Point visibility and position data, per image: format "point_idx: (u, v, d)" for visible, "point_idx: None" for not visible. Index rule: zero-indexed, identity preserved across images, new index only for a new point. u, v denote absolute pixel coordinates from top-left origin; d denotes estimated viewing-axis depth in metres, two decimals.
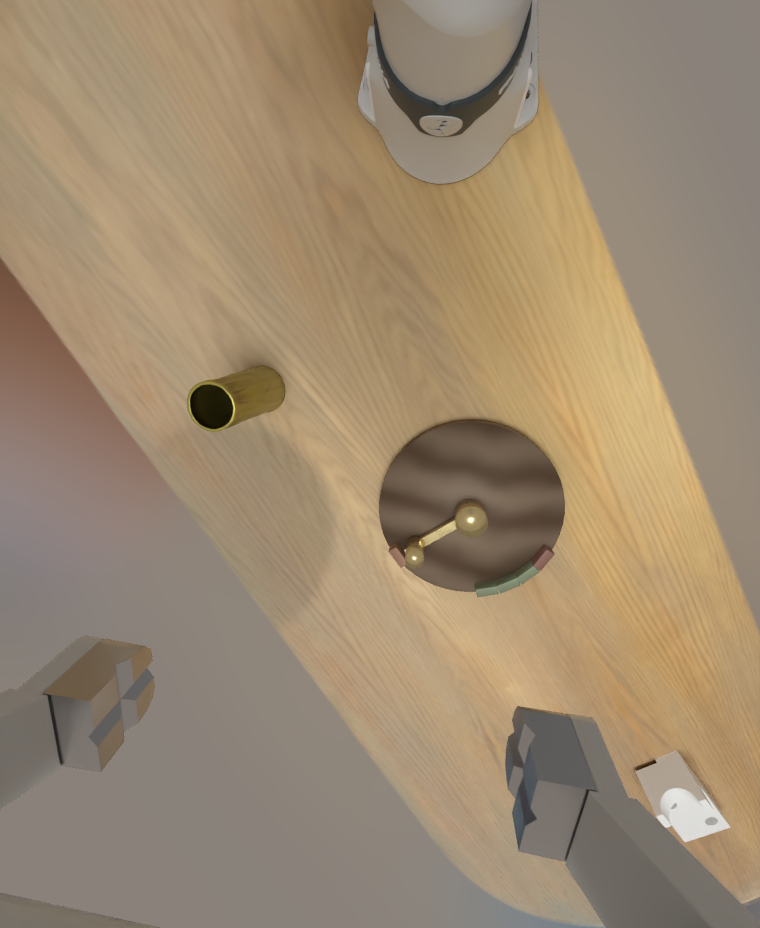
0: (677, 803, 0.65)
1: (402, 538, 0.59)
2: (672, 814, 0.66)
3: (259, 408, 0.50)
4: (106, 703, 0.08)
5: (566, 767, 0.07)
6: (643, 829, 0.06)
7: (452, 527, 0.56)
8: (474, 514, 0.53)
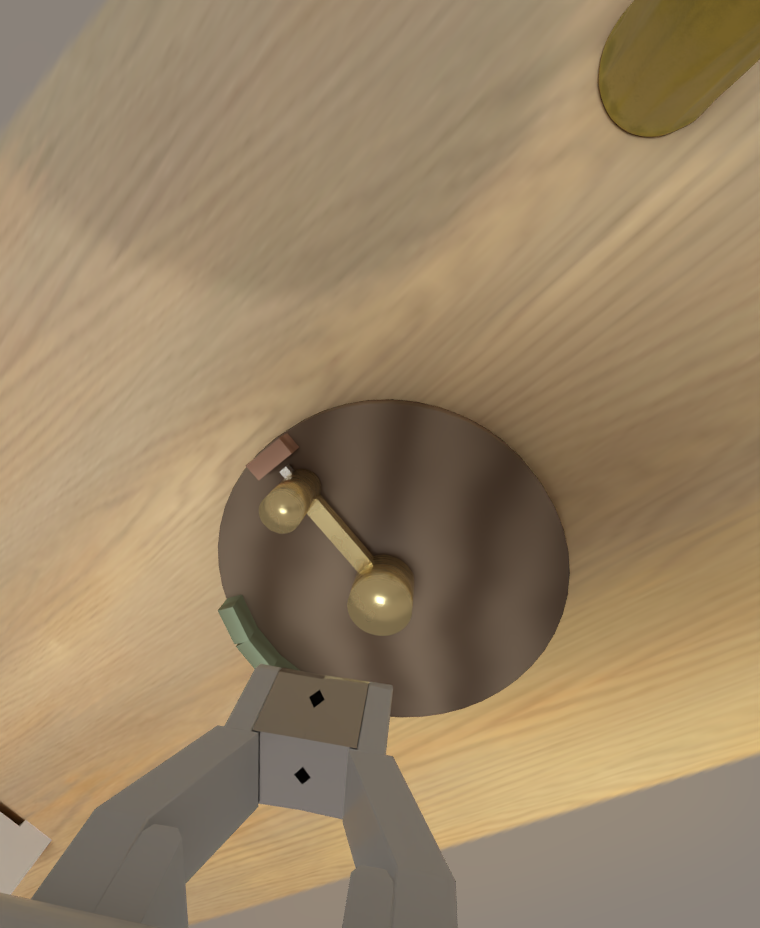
0: None
1: (309, 458, 0.28)
2: None
3: (721, 28, 0.15)
4: None
5: (339, 728, 0.08)
6: (381, 782, 0.07)
7: (354, 559, 0.28)
8: (398, 612, 0.26)
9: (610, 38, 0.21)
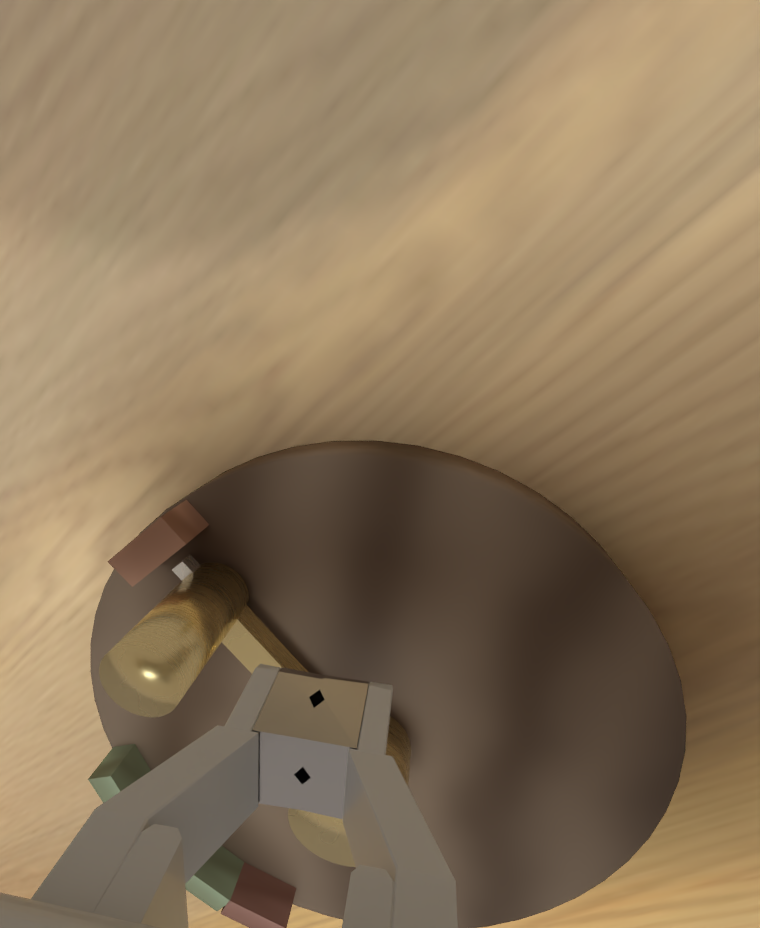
0: None
1: (228, 543, 0.16)
2: None
3: None
4: None
5: (339, 728, 0.08)
6: (382, 782, 0.07)
7: None
8: None
9: None
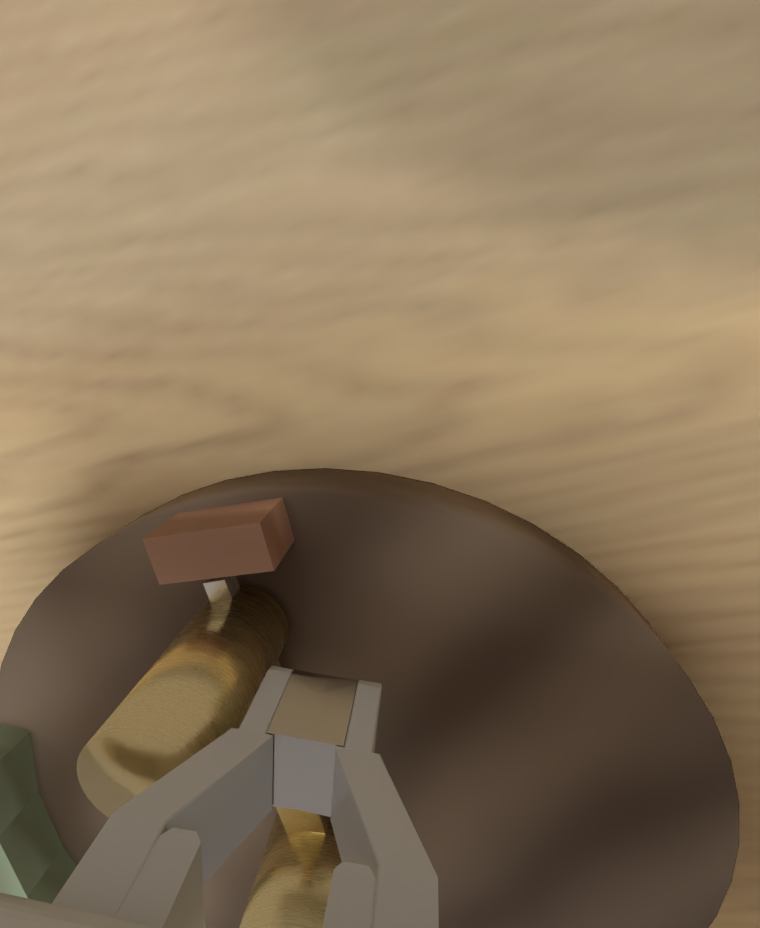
0: None
1: (305, 572, 0.11)
2: None
3: None
4: None
5: (326, 726, 0.08)
6: (367, 780, 0.07)
7: (292, 812, 0.12)
8: None
9: None
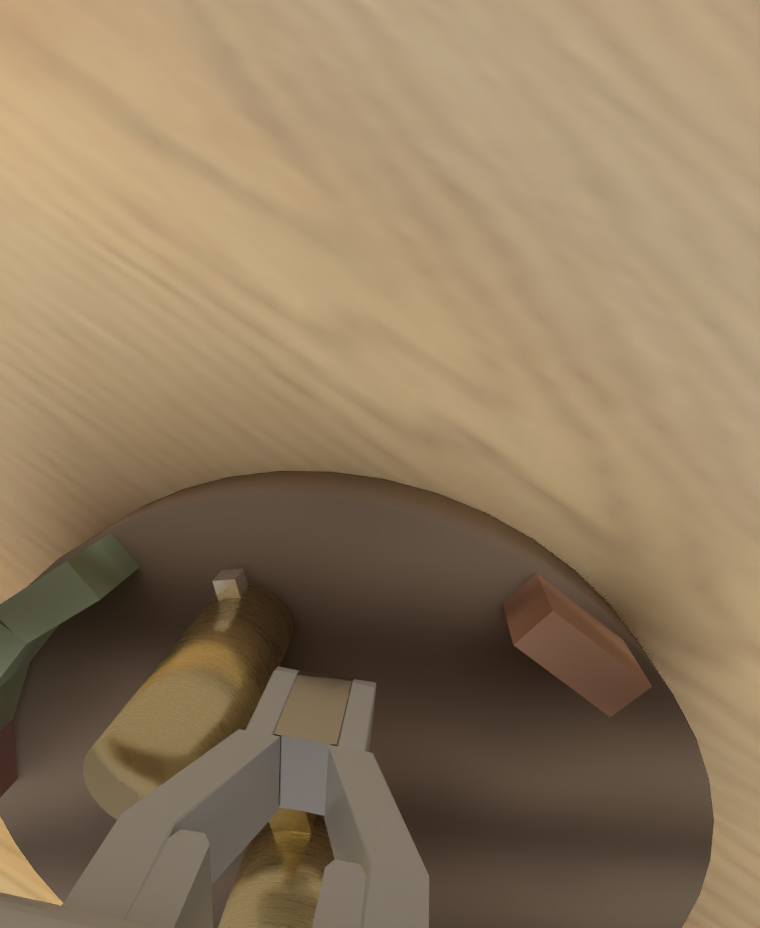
0: None
1: (562, 690, 0.11)
2: None
3: None
4: None
5: (320, 724, 0.08)
6: (360, 778, 0.07)
7: (280, 812, 0.12)
8: None
9: None
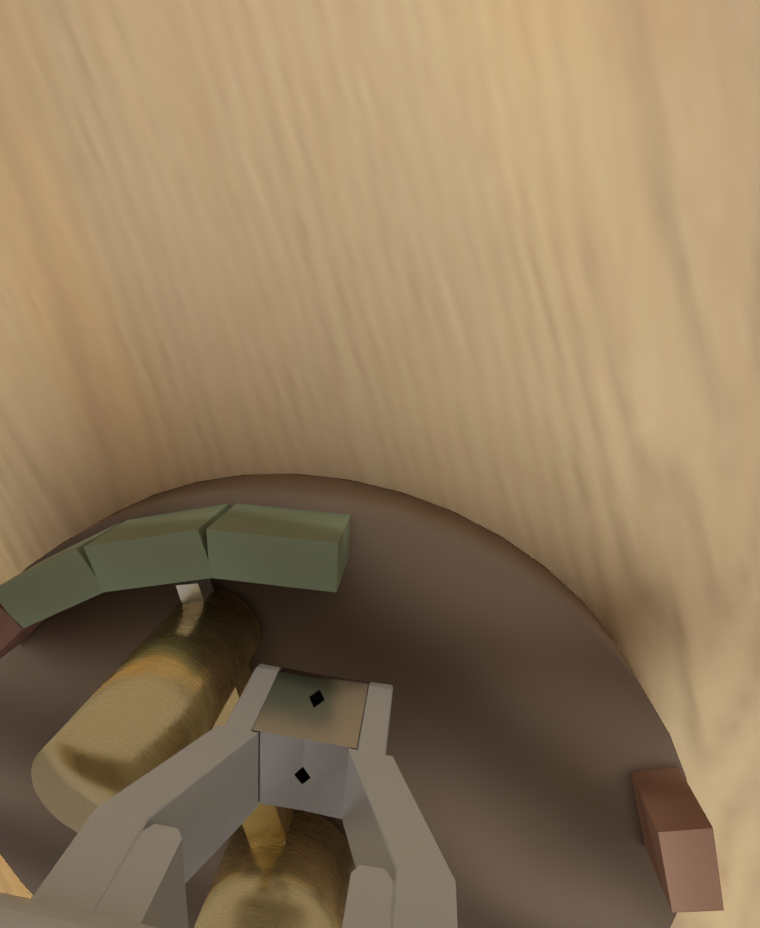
0: None
1: (610, 850, 0.13)
2: None
3: None
4: None
5: (338, 728, 0.08)
6: (381, 782, 0.07)
7: (254, 817, 0.12)
8: None
9: None
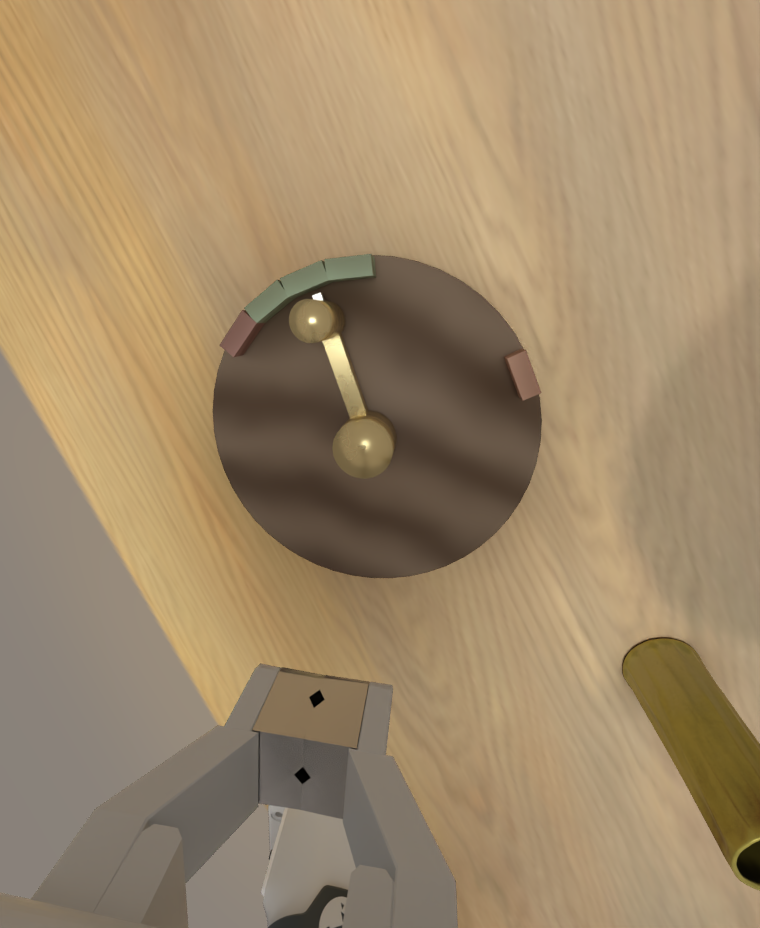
0: None
1: (505, 402, 0.29)
2: None
3: (684, 726, 0.30)
4: None
5: (339, 728, 0.08)
6: (381, 781, 0.07)
7: (351, 404, 0.29)
8: (378, 459, 0.28)
9: (691, 649, 0.35)
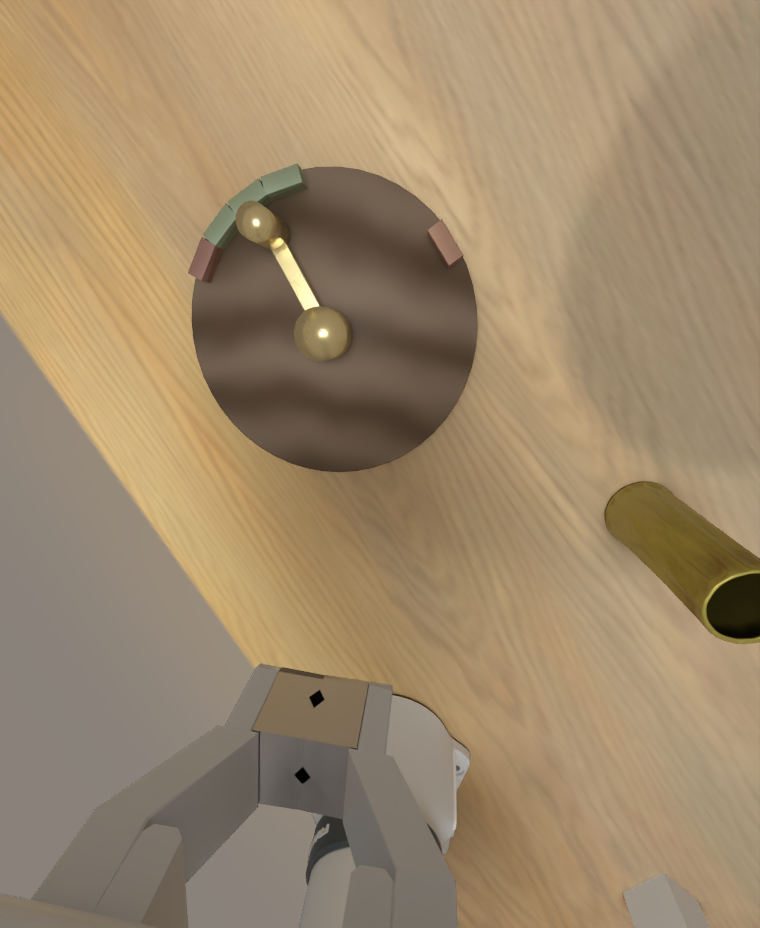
0: None
1: (438, 276, 0.33)
2: None
3: (655, 535, 0.32)
4: None
5: (339, 728, 0.08)
6: (381, 782, 0.07)
7: (307, 303, 0.34)
8: (334, 340, 0.32)
9: (662, 487, 0.37)
